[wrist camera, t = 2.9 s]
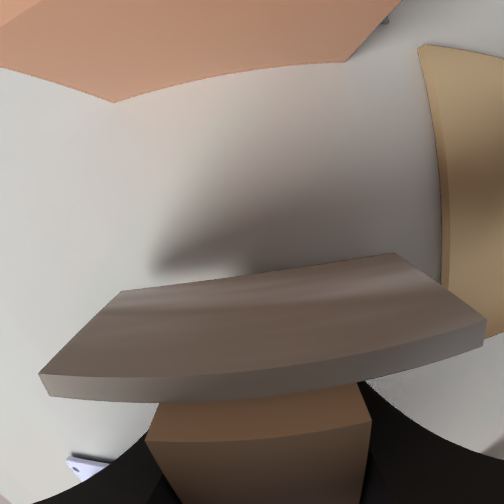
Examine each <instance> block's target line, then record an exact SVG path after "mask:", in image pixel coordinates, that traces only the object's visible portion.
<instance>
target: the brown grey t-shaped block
mask: <svg viewBox="0 0 504 504" xmlns="http://www.w3.org/2000/svg"><path fill="white" fill-rule="evenodd" d="M486 325H487V319H486V318H485V317H484V316H482V315H481V314H480V313H479V312H477V311H476V310H475V309H473V308H472V307H471V306H469V305H468V304H467V303H465V302H464V301H463V300H461V299H460V298H458V297H457V296H456V295H454V294H453V293H452V292H450V291H449V290H447V289H446V288H445V287H443V286H442V285H440V284H439V283H438V282H436V281H435V280H433V279H432V278H430V277H429V276H428V275H426V274H425V273H423V272H422V271H420V270H419V269H417V268H416V267H415V266H413V265H412V264H410V263H409V262H407V261H406V260H404V259H403V258H401V257H400V256H398V255H397V254H395V253H389V254H383V255H377V256H370V257H364V258H358V259H351V260H345V261H339V262H332V263H326V264H319V265H312V266H306V267H299V268H292V269H285V270H278V271H271V272H264V273H257V274H250V275H243V276H236V277H228V278H221V279H214V280H206V281H199V282H191V283H183V284H175V285H167V286H159V287H151V288H143V289H135V290H127V291H121V292H120V293H119V294H118V295H116V296H115V297H114V298H113V299H112V300H111V301H110V302H109V303H108V304H107V305H106V306H105V307H104V308H103V309H102V310H101V311H100V312H99V313H98V314H97V315H96V316H94V317H93V318H92V319H91V320H90V321H89V322H88V323H87V324H86V325H85V326H84V327H83V328H82V329H81V330H80V331H79V332H78V333H77V334H76V335H75V336H74V337H73V338H72V339H71V340H70V341H69V342H68V343H67V344H66V345H65V346H64V347H63V348H62V349H61V350H60V351H59V352H58V353H57V354H56V355H55V356H54V357H53V358H52V359H51V361H50V362H49V363H48V364H47V365H46V366H45V367H44V368H43V369H42V370H41V371H40V372H39V373H38V375H39V377H40V379H41V381H42V383H43V385H44V387H45V389H46V390H47V392H48V394H49V396H53V397H62V398H71V399H81V400H94V401H109V402H133V403H159V405H158V408H157V410H156V413H155V415H154V418H153V420H152V423H151V425H150V428H149V431H148V433H147V436H146V438H145V442H146V444H147V446H148V448H149V450H150V451H151V453H152V455H153V457H154V458H155V460H156V462H157V464H158V465H159V467H160V469H161V470H162V472H163V474H164V475H165V477H166V479H167V480H168V482H169V483H170V485H171V487H172V488H173V490H174V491H175V493H176V494H177V496H178V497H179V499H180V500H181V502H182V503H183V504H359V501H360V496H361V491H362V486H363V480H364V474H365V468H366V462H367V456H368V449H369V441H370V433H371V425H372V419H371V417H370V414H369V412H368V409H367V407H366V405H365V402H364V400H363V397H362V395H361V392H360V390H359V388H358V385H357V383H356V382H360V381H365V380H369V379H374V378H378V377H382V376H386V375H390V374H394V373H398V372H402V371H406V370H409V369H413V368H417V367H420V366H424V365H427V364H430V363H434V362H437V361H440V360H443V359H446V358H450V357H453V356H456V355H459V354H462V353H464V352H467V351H470V350H473V349H476V348H478V347H481V346H483V341H484V336H485V330H486Z"/></svg>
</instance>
